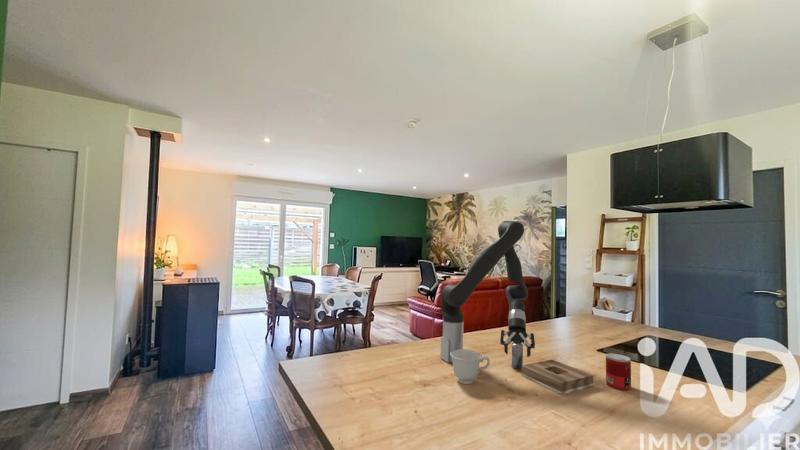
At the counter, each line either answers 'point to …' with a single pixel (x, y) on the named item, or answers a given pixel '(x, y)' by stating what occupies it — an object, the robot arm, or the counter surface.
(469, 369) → the teacup
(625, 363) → the canned food
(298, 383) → the counter surface
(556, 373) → the socket base
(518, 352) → the post
